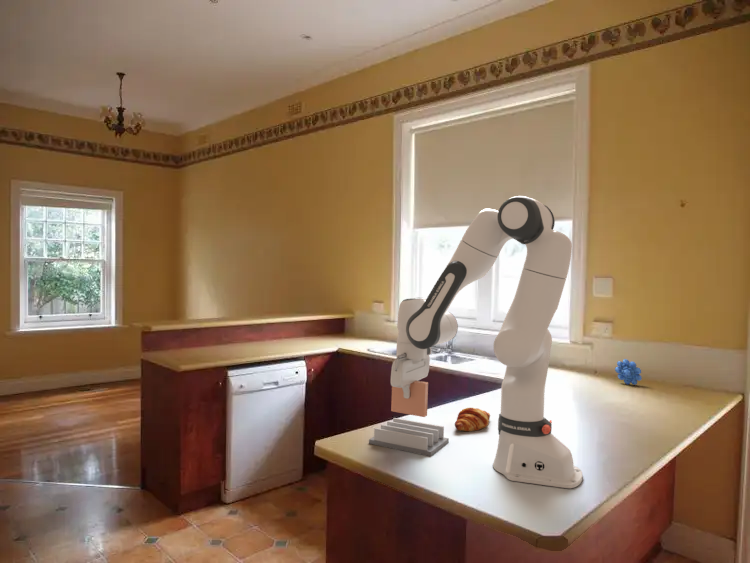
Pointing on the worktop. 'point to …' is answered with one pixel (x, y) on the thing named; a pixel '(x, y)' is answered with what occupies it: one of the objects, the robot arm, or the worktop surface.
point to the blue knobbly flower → (628, 372)
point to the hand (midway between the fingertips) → (409, 396)
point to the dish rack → (410, 436)
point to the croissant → (472, 419)
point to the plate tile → (411, 399)
